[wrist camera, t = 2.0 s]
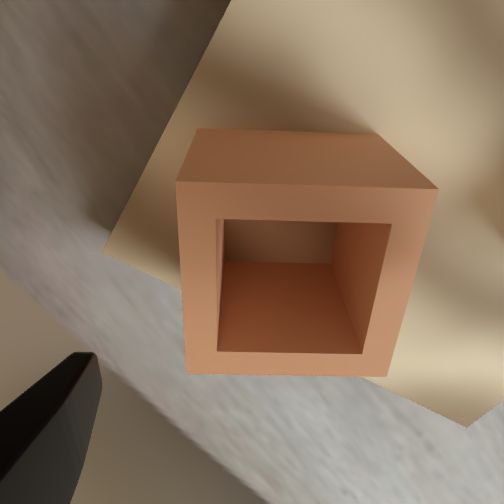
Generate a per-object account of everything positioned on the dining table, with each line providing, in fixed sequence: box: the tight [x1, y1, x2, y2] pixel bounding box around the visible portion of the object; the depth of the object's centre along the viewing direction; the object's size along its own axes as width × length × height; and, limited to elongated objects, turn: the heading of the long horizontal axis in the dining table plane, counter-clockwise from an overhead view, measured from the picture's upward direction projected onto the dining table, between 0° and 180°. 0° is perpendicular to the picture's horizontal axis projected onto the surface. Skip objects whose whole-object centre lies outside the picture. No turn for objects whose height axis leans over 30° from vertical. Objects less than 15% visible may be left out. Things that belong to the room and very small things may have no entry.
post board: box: [102, 0, 504, 427], centre depth 15 cm, size 14×20×6 cm
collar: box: [175, 128, 439, 377], centre depth 13 cm, size 6×6×5 cm
